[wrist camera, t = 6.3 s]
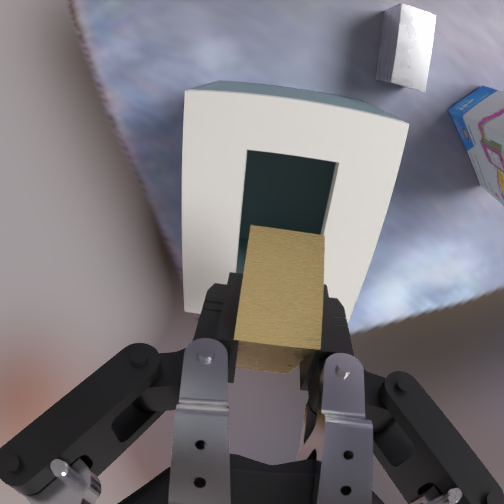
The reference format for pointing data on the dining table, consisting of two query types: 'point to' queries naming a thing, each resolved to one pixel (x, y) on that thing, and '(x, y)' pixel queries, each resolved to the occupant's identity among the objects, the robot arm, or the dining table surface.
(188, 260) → the box
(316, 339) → the block
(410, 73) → the grey rectangular block
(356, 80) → the dining table surface
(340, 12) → the dining table surface
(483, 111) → the ink box
